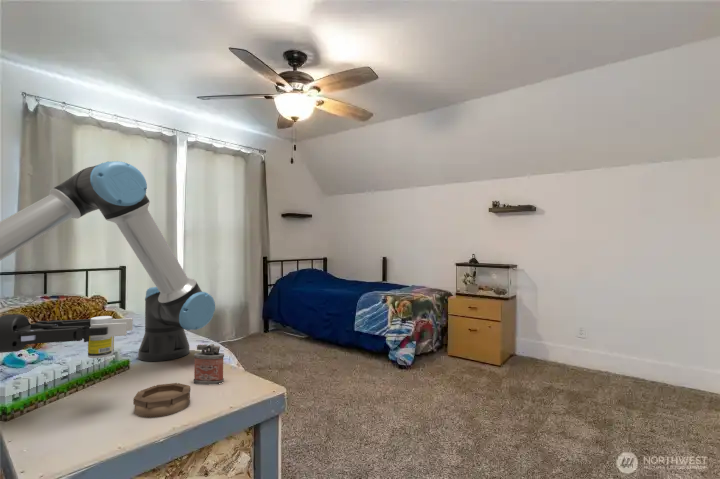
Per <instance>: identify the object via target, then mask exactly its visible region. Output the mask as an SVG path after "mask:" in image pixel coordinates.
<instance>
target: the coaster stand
mask: <svg viewBox="0 0 720 479" xmlns="http://www.w3.org/2000/svg"><path fill="white" fill-rule="evenodd" d="M132 400H133V401H132V402H133V405H134V414H135V415H136V416H138V417H140V418H150V419H151V418H161V417H165V416H166V417H167V416H171V415H173V414H176V413H179V412H181V411H183V410H185V409H186V408H188V407H189V406H190V404H191V385H188V384H184V383H179V382H173V383H172V382H171V383H164V384H156V385H152V386H149V387H147V388H145V389H141V390H140V391H137V392H136V394H135V396H134V397H133V399H132Z"/></svg>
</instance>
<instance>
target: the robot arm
mask: <svg viewBox="0 0 720 479" xmlns="http://www.w3.org/2000/svg"><path fill="white" fill-rule="evenodd" d="M147 188H148V183H147V180H146V178H145V176H144V174H143V173H142V172H141V170H140V169H138V168H137V167H136V166H134V165H133V164H130V163H129V162H128V163H127V162H125V161H119V160H116V161H115V160H114V161H113V160H112V161H106V162H102V163H101V162H100V163H99V164H97V165H96V164H95V165H93V166H89V167H85V168H83V169H81V170H79V171H77V172H76V173H74V175H72V176H70V177H69V178H67V179H66V180H65V181H63V182H61V183H60V184H58V185H56V186H54V187H52V188H51V189H50V190H49V194H48V195H47V196H45V197H43V198H41V199H39V200H38V201H35V202H34V203H32V204H30V205H28V206H26V207H24V208H23V209H21V210H19V211H17V212H15V213H14V214H11V215H10V216H8V217H6V218H5V219H2V220H0V261H3V260H4V259H5V258H7V257H9V256H11V255H12V254H15V252H17V251H19V250H21V249H22V248H24V247H25V246H27V245H29V244H30V243H32V242H34V241H36V240H38V239H39V238H40V237H42V236H44V235H45V234H48V233H49V232H51V231H52V230H54V229H55V228H57V227H59V226H61V225H62V224H65V223H66V222H67V221H69V220H71V219H80V218H81V217H83V216H85V215H87V214H89V213H91V212H94V211H97V210H99V211H100V213H101V215H102V216H103V218H104V219H105V220H106V221H108V222H111V223H114V224H116V226H117V227H118V229H119V231H120V232H121V234H122V235H123V237H124V238H125V240H126V242H127V243H128V244H129V246H130V248H131V249H132V251H133V253H134V254H135V255H136V257H137V259H138V261H139V262H140V264H141V265H142V266H143V268H144V270H145V271H146V273H147V274H148V276H149V277H150V279H151V280H152V282H153V284H154V287H153V286H152V287H149V288H147V289H146V291H145V297H144V301H145V306H144V308H145V310H144V312H145V313H144V335H143V338H142V341H141V343H140V346H139V348H138V350H137V353H138V354H137V359H138V360H141V361H144V362H162V361H163V362H164V361H170V360H176V359H179V358H182V357H185V356H187V355H188V354H190V343H189V341H188V340H189V339H188V338H187V335H186V332H185V330H187V331H188V330H189V331H190V330H192V331H196V330H199V329H203V328H204V327H206V326H207V325H208V324H209V323H210V322H211V320H213V317H214V315H215V314H214V313H215V311H216V303H215V302H216V301H215V300H214V297H213V296H212V295H211V294H209V293H208V292H206V291H202V289H201V288H200V285H199V284H198V283H197V281H196V279H195V278H190V277H188V276H187V274H186V273H185V271H184V269H183V267H182V266H181V264H180V262H179V261H178V259H177V257H176V255H175V254H174V252H173V250H172V248H171V247H170V244H168V241H167V240H166V237H164V235H163V233H162V231H161V230H160V228H159V226H158V224H157V223H156V221H155V219H154V218H153V217H152V214H151V213H150V211H149V205H150V203H151V201H150V199H149V197H148V196H147ZM90 320H91V318H86V319H81V318H80V319H66V320H65V319H64V320H62V319H61V320H56V319H52V320H48V321H47V320H38V321H36V322H35V323H30V321H29V318H28V317H27V316H26V315H24V314H7V315H4V314H3V315H1V316H0V354H3V353H16V352H20V351H22V350H24V348H25V347H26V346H28V345H34V344H36V345H37V344H51V343H65V342H66V343H67V342H80V341H82V340H83V343H88V342H89V336H90V338H96V337H111V336H114V337H124V336H126V337H127V332H128V331H129V332H130V331H132V330H133V323H134V321H133V317H130V318H129V317H128V318H112V323H109V324H92V325H90ZM90 327H91V328H90Z"/></svg>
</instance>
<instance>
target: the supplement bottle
mask: <svg viewBox="0 0 720 479" xmlns="http://www.w3.org/2000/svg"><path fill="white" fill-rule="evenodd" d="M90 319H91V320H90V325H92V324H109V323H112V319H113V316H110V315H101V316H100V315H99V316H95V317H91V318H90ZM90 328H91V327H90ZM114 349H115V336H111V337H96V338H90V336H89V342H87V357H88V358H90V359H102V358H107V357H110V356H112V355H113V354H114V353H115V350H114Z"/></svg>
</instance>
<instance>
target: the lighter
mask: <svg viewBox="0 0 720 479" xmlns="http://www.w3.org/2000/svg"><path fill="white" fill-rule="evenodd" d="M220 348H221V346H220V345H215V344H213V343H211V344H198V345H197V346H196V350H197V351H200V352H195V353H194V354H193V358H194V373H193V374H194V375H193V376H194V378H193V384H195V385H207V386H210V385H209V384H218V385H220V384H219V383H222V382H225V380H224V379H225V378H224V357H225V353H223V352H220ZM222 384H223V383H222Z"/></svg>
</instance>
